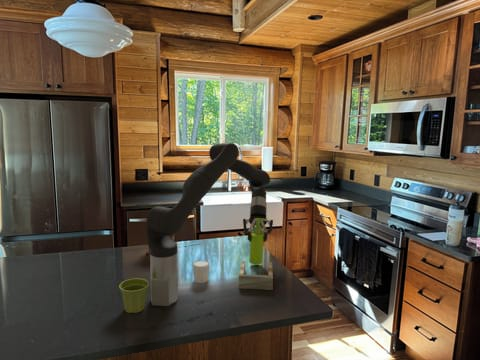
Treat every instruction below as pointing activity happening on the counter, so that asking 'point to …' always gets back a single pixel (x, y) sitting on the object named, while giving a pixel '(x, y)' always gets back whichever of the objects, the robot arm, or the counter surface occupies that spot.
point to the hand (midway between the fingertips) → (257, 241)
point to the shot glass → (201, 271)
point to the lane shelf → (256, 279)
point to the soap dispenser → (257, 243)
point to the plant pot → (134, 294)
